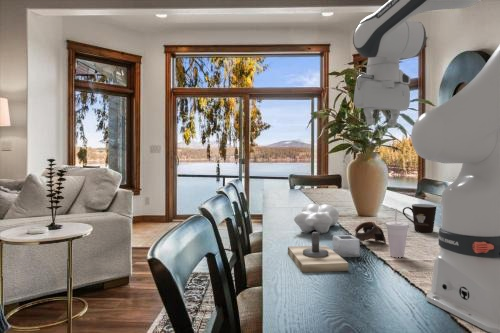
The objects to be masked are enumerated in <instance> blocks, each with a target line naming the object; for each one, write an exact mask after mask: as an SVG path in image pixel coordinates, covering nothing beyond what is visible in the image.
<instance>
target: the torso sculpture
mask: <svg viewBox="0 0 500 333" xmlns="http://www.w3.org/2000/svg"><path fill="white" fill-rule="evenodd" d="M339 213H340V212H339V211H338V209H336V207H334V206H333V205H331V204H327V203H323V204H321V205H320V204H318V203H309V204H306V205H305V206H304V207H303V208H302V209H301V211H300V212H299V213H297V214H296V215H295V216H294V218H293V221H294V223H295V224H296V225H297V226H298V227H299V229H300V230H301V231H302V232H304V233H312V231H314V230H315V232H318V233H319V234H326V233H328V232H329V231H330V227H332V226H335V225H337V223H338V221H339V219H340V214H339Z"/></svg>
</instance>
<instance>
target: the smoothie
mask: <svg viewBox="0 0 500 333" xmlns="http://www.w3.org/2000/svg"><path fill="white" fill-rule="evenodd" d="M385 227H386V232H387V240H388V248H389V249H388V250H389V256H390V257H391V256H392V257H391V258H394V257H397V258H396V259H402V258H401V257H403V258H404V257H405V251H406V246H407V238H408V231H409V228H410V224H409V223H408V222H404V221H398V208H394V221H387V222H385ZM398 257H399V258H398Z"/></svg>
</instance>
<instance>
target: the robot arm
mask: <svg viewBox="0 0 500 333" xmlns="http://www.w3.org/2000/svg"><path fill="white" fill-rule="evenodd" d="M482 1H483V0H388V1H387V2H386V3H385V4H383V5H382V6H381V7H380V8H379V9H378V10H377V11H375V12H373V13H372V14H370V15H368V16H366V17H364V18H363V19H362V20H361V21H360V22H359V23H358V24H357V26H356V27H355V29H354V32H353V37H352V44H353V47H354V49H355V50H356V52H357V53H358V54H359V56H361V58H367V64H366V74H365V73H361V74H360V75H358V76H357V77H356V82H355V83H356V84H355V86H354V94H353V105H354V107H355V108H357V109H363V114H364V116H365V118H366V125H367V126H369V125H370V126H373V125H375V124H376V117H374V115H373V112H374V110H379V111H380V110H381V111H390V115H391V117H390V119H388V126H390V127H396V126H397V125H398V122H397V120H399V116H400V114H401V113H400V112H402V111H403V112H404V111H408V109H409V107H410V103H411V102H410V100H411V90H410V87H409V86H410V85H409V84H411V77H410V76H409V75H407V74H406V73H405V72H404V71H403V70H402V69H400V60H401V59H411V58H414V57H416V56H417V55H419V54H420V53H421V52H422V50H423V49H424V47H425V45H426V42H427V41H426V40H427V31H426V27H425V26H424V24H423V23H422V22H420V21H418V20H413V19H410V18H412V17H414V16H416V15H418V14H421V13H425V12H432V11H433V12H434V11H441V10H443V11H444V10H455V9H456V10H457V9H464V8H465V9H466V8H470V7H472V6H474V5H477V4H478V3H480V2H482ZM410 136H411V137H410V139H411V144H412V148H413V149H414V152H415V153H416V154H417V155H418V156H419V157H420V158H422V159H424V160H428V161H431V162H436V163H437V162H438V163H441V164H462V165H461V168H460V172H459V174H458V175H457V177H456V178H455V179H454V181H452V183H450V184H449V185H447V186H446V187H445V188H444V190H442V194H441V215H440V217H441V218H440V219H441V221H440V224H441V225H440V226H441V227H440V228H439V229H438V235H437V236H438V237H437V238H438V245H439V247H440V249H439V251H438V254H437V256H436V257H435V259H434V262H433V269H432V270H433V271H432V279H431V285H430V286H431V288H430V292H428V293H427V294H426V295H425V296H426V297H425V300H426V301H427V302H428V303H431V304H432V305H434V306H437V307H438V308H440V309H442V310H444V311H446V312H447V313H450V314H451V315H454V316H456V317H458V318H460V319H462V320H464V321H466V322H467V323H470V324H472V325H473V326H476V327H478V328H480V329H482V330H483V331H485V332H488V333H500V43H499V44H498V46H497V47H496V49H495V50H494V52H493V53H492V54H491V56H490V57H489V59H488V60H487V62H486V63H485V64H484V66H483V67H482V68H481V69H480V70H479V72H478V73H477V74H476V75H475V77H474V78H473V79H472V80H470V82H468V84H466V85H465V86H464V87H463V88H462V89H460V90H459V91H458V92H457V93H456V94H455V95H453V96H452V97H451V98H449V99H448V100H447V101H445V102H443V103H442V104H440V105H439V106H437V107H435V108H432V109H430V110H427V111H425V112H424V113H422V114H420V115H419V117H417V119H416V120H415V122H414V124H413V126H412V130H411V135H410Z"/></svg>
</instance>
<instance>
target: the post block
mask: <svg viewBox="0 0 500 333" xmlns="http://www.w3.org/2000/svg"><path fill="white" fill-rule="evenodd" d="M287 254H288V256H289V257H290V258H291V259H292V261H293V262H294V263H295V265H296V267H297V268H298V269H299V270H300V271H301V272H302V273H317V272H319V273H320V272H321V273H323V272H343V271H344V272H345V271H347V272H348V271H349V262H347V261H346V260H345V259H344V257H340V256H339V255H338V254H336V253H335V252H334V251H333V249H331V247H329V246H328V245H320V233H318V232H317V231H313V232H312V231H311V245H304V246H303V245H302V246H300V245H297V246H295V245H294V246H288V247H287Z"/></svg>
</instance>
